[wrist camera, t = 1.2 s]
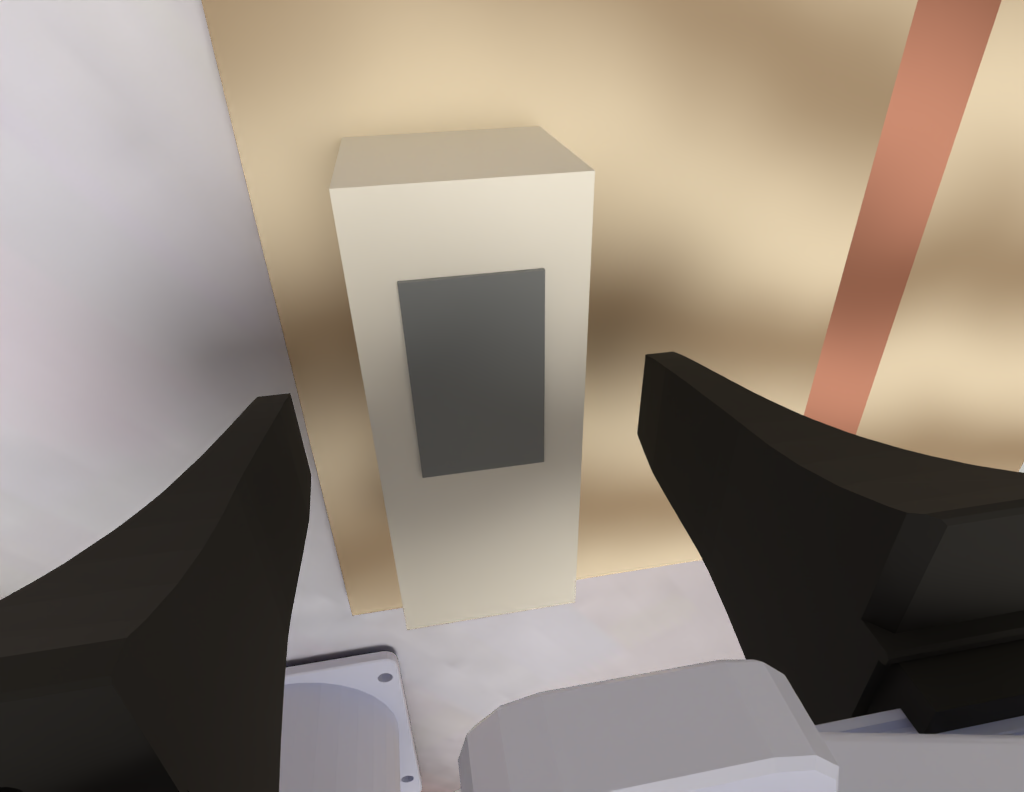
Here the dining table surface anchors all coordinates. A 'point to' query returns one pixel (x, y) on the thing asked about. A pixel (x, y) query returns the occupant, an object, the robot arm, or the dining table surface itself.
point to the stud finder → (472, 357)
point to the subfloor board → (673, 215)
